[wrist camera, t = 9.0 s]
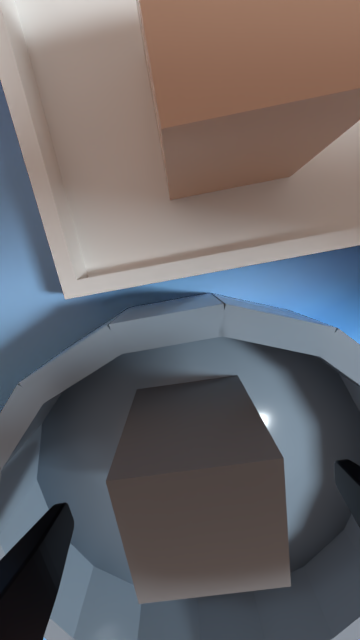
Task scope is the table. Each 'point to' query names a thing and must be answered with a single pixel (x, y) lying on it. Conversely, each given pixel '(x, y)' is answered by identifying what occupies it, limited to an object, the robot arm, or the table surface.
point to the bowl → (103, 437)
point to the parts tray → (143, 162)
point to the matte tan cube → (248, 86)
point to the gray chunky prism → (199, 493)
